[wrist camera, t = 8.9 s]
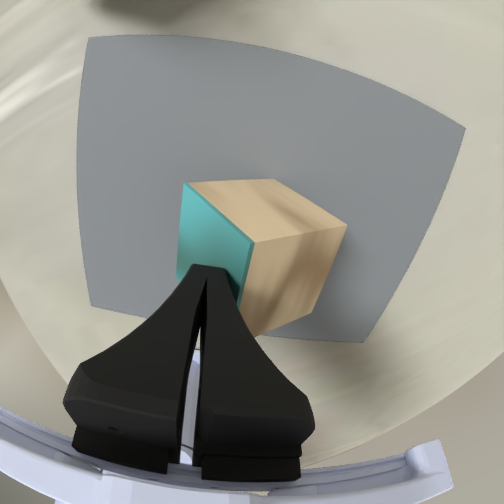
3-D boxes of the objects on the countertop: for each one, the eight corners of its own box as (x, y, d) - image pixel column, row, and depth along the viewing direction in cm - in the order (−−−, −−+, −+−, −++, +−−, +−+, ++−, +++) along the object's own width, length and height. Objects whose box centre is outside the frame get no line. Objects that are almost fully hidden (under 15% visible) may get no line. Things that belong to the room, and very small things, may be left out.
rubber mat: (362, 341, 25) (363, 342, 25) (92, 304, 22) (91, 305, 21) (463, 127, 14) (465, 128, 14) (90, 37, 11) (88, 37, 11)
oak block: (175, 276, 16) (254, 258, 19) (226, 348, 13) (311, 312, 16) (183, 183, 13) (273, 178, 16) (250, 243, 10) (347, 224, 13)
